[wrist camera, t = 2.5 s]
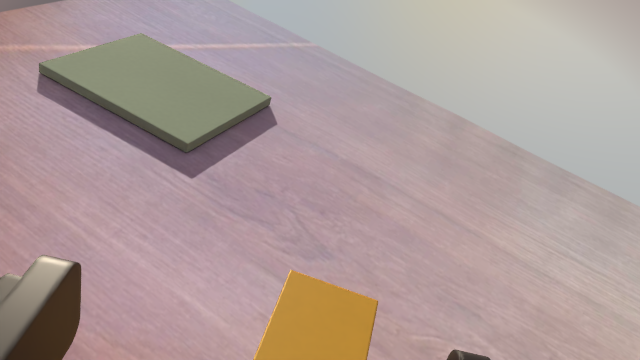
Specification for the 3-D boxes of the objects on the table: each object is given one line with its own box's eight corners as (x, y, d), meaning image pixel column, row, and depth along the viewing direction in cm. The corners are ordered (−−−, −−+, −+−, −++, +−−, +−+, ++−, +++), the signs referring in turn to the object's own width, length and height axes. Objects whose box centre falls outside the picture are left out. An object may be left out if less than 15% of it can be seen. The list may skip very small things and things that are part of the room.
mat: (38, 72, 56) (38, 62, 55) (140, 40, 67) (141, 32, 66) (186, 153, 51) (187, 143, 50) (269, 105, 62) (271, 96, 61)
